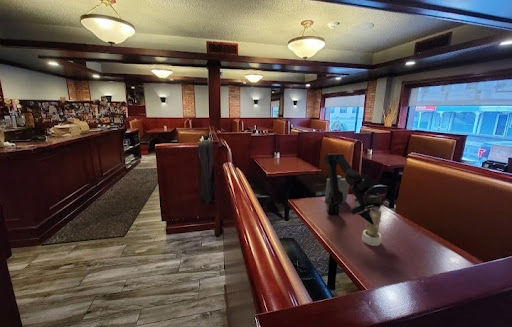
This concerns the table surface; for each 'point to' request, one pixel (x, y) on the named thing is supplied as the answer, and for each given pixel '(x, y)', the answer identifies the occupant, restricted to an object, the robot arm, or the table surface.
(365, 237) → the socket
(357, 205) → the teacup
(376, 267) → the table surface
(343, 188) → the hip flask
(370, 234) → the pepper mill
